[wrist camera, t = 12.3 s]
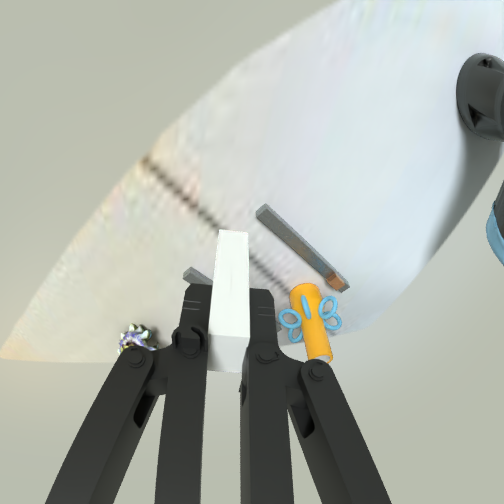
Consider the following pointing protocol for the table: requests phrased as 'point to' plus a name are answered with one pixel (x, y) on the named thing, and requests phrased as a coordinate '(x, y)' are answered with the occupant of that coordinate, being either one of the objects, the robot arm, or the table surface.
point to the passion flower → (136, 338)
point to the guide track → (294, 242)
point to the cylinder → (311, 320)
